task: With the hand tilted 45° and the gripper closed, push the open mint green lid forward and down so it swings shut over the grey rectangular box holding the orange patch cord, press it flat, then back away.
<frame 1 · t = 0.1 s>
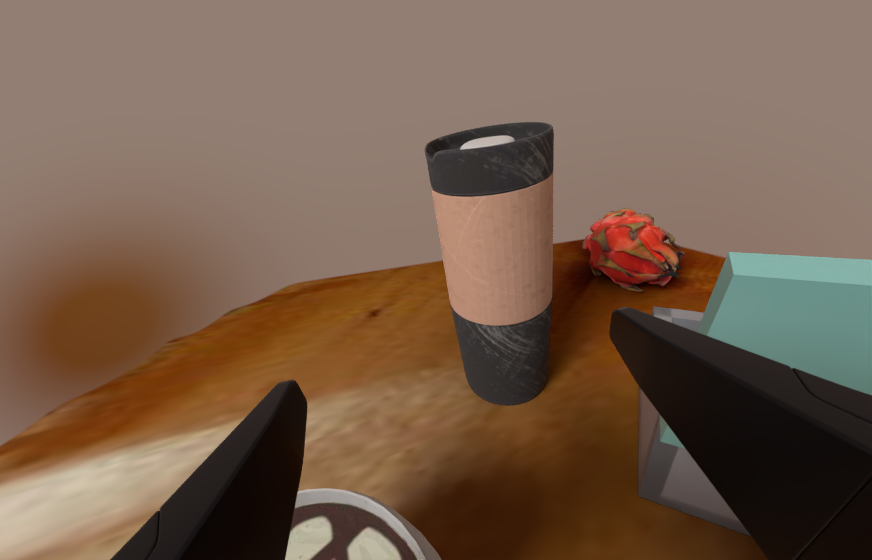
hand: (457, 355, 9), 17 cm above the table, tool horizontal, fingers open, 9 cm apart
travel mug: (505, 374, 30), on the table
dragon fruit: (626, 278, 39), on the table
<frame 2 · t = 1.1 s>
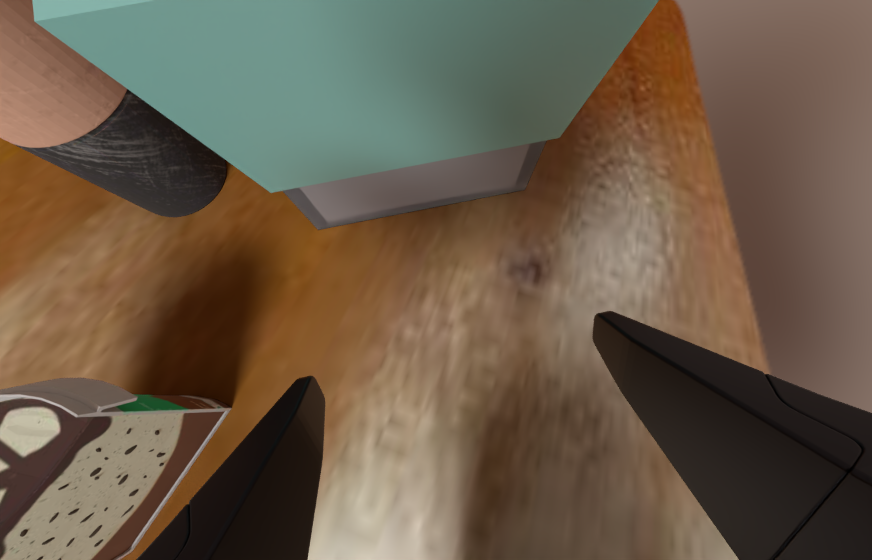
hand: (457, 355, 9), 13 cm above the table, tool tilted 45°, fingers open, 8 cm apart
food container: (151, 448, 21), on the table
grey rectangular box: (422, 209, 25), on the table
travel mug: (185, 178, 26), on the table
mint green lid: (406, 92, 13), point 12 cm above the table, hinge at 100.0°
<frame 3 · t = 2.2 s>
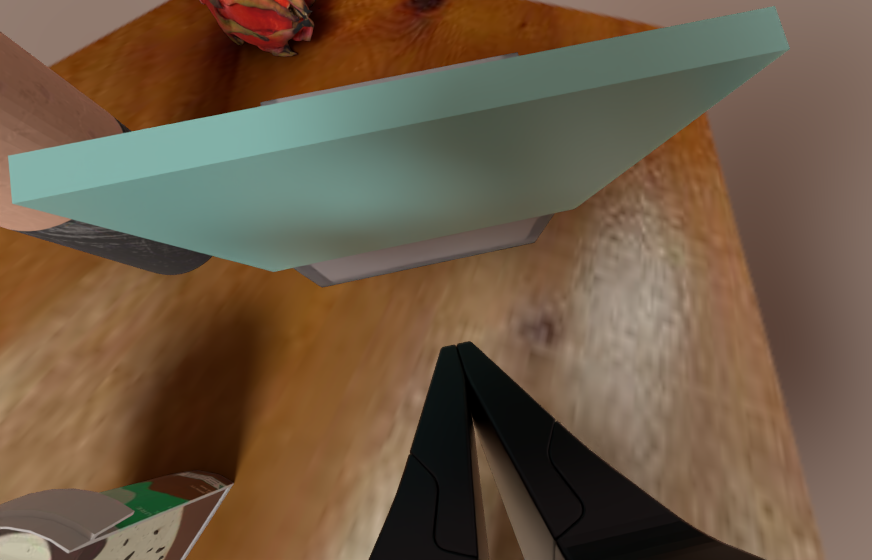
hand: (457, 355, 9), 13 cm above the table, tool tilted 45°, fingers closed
food container: (150, 527, 20), on the table
grey rectangular box: (429, 264, 24), on the table
travel mug: (183, 232, 26), on the table
mint green lid: (419, 194, 12), point 12 cm above the table, hinge at 100.0°
dragon fruit: (279, 36, 31), on the table
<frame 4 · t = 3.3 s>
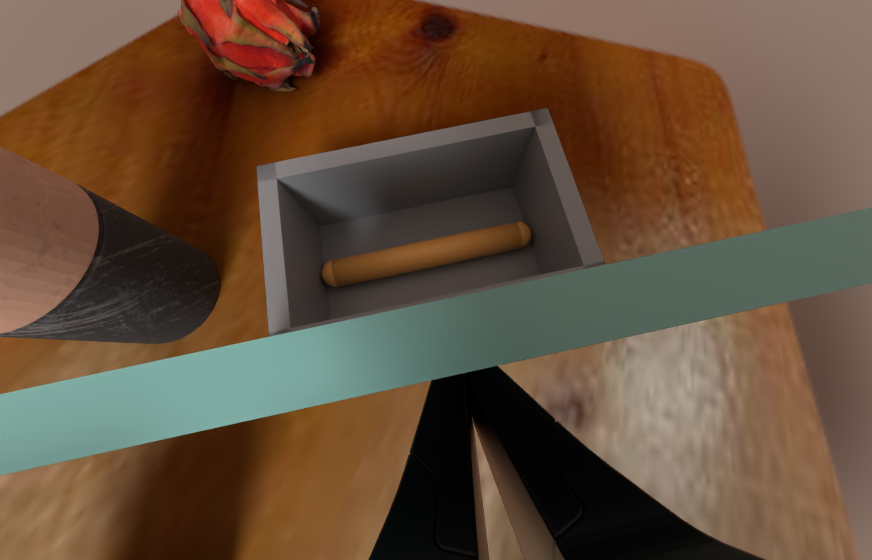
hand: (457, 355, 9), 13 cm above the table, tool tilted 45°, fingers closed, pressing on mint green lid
grey rectangular box: (444, 333, 22), on the table
travel mug: (172, 293, 23), on the table
mint green lid: (450, 328, 10), point 12 cm above the table, hinge at 97.3°, touching gripper
dragon fruit: (277, 68, 28), on the table
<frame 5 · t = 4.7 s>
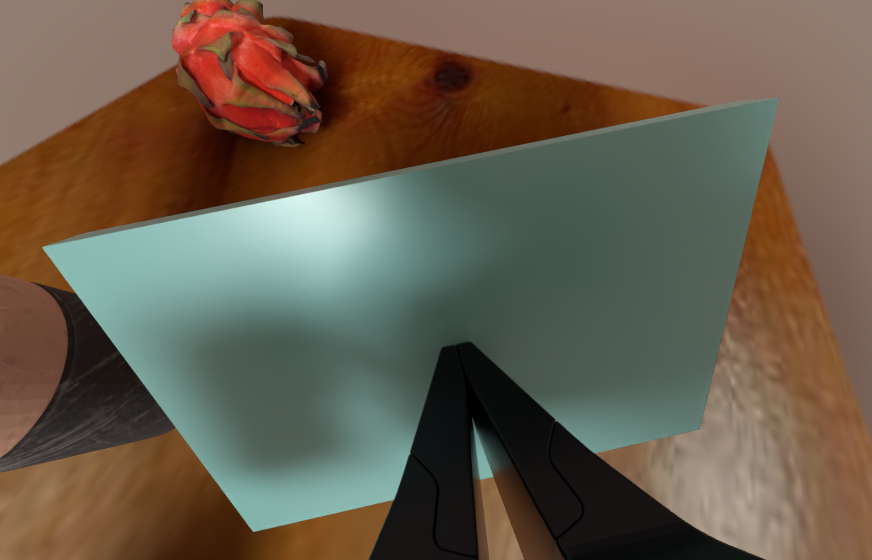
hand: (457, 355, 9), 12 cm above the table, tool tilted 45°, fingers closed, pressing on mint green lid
travel mug: (161, 376, 21), on the table
mint green lid: (455, 351, 10), point 11 cm above the table, hinge at 42.3°, touching gripper
dragon fruit: (281, 120, 27), on the table
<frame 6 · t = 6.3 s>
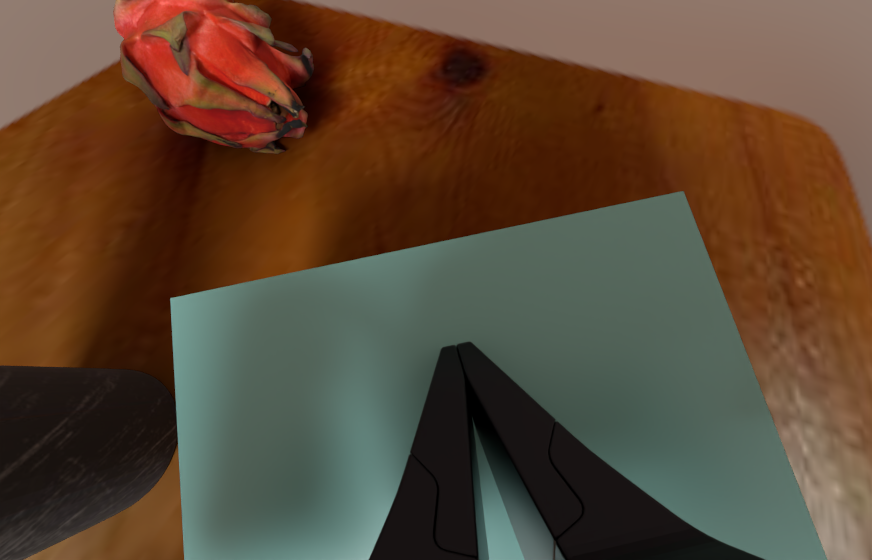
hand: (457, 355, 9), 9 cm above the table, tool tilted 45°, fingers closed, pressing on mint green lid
travel mug: (116, 438, 17), on the table
mint green lid: (470, 418, 9), point 8 cm above the table, hinge at 3.8°, touching gripper
dragon fruit: (260, 120, 22), on the table
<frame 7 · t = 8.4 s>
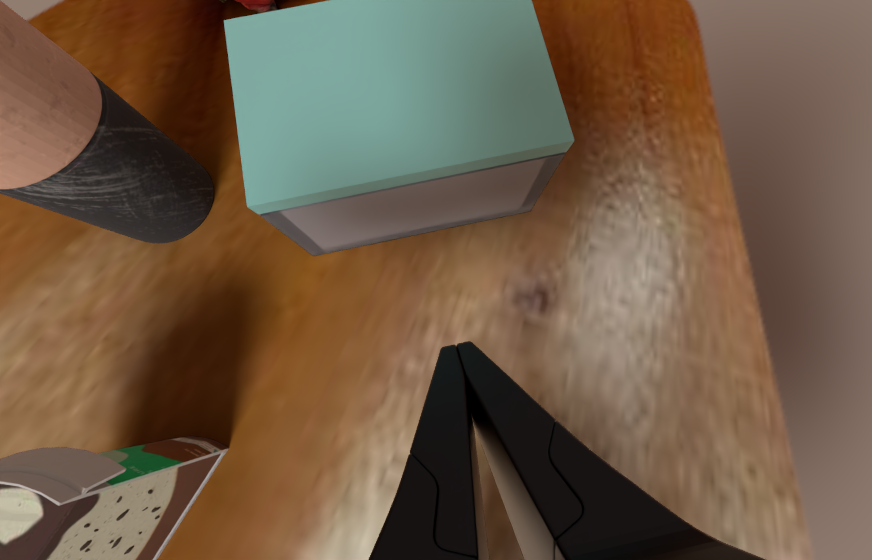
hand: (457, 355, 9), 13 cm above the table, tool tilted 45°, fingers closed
food container: (147, 490, 21), on the table
grey rectangular box: (422, 233, 24), on the table
travel mug: (170, 200, 25), on the table
mint green lid: (393, 85, 17), point 8 cm above the table, hinge at 3.5°
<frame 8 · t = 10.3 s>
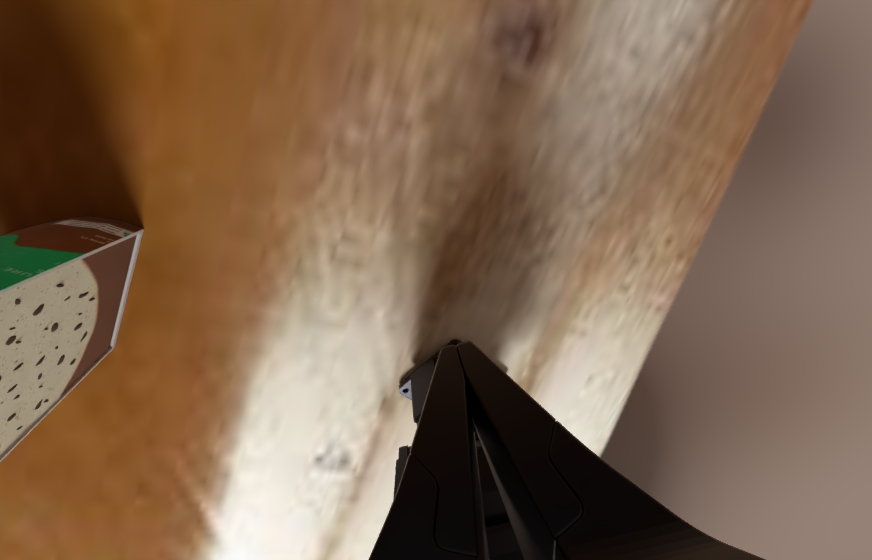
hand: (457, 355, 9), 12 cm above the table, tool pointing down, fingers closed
food container: (66, 270, 19), on the table
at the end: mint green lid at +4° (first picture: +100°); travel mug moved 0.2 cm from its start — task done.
